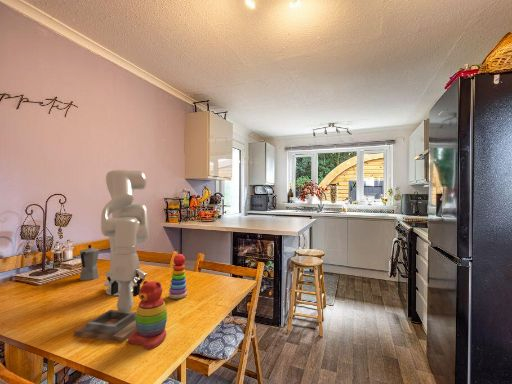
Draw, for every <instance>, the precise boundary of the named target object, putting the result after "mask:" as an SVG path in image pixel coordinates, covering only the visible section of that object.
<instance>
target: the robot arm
mask: <svg viewBox="0 0 512 384" xmlns="http://www.w3.org/2000/svg"><path fill="white" fill-rule="evenodd" d="M105 184H106V188H107V191H108V193H109V195H110V197H111V200H109V201H108V202H107V203H106V204H105V206H104V207H103V209H102V211H101V215H100V231H101V234H102V235H103V236H104V237H108V241H109V249H110V255H109V256H110V259H109V261H110V263H109V264H110V266H109V267H110V268H109V270H108V271H106V272H105V273H104V274H105V277H106V281H104V284H103V286H104V287H107V289H106V291H105V293H106V295H108V296H119V293H120V289H121V284H120V283H119V281H128V282H129V281H131V283H130V287H131V292H132V298H133V297H134V298H135V297H137V296H139V291H140V289H141V284H143V282H144V281H145V278H146V276H147V273H146V272H144V271H143V270H141V269H140V259H139V255H138V253H137V244H140V243H145V242H146V243H147V241H149V238H150V225H149V224H150V223H149V213H148V208H147V207H146V205H145V204H141V203H134V200H135V195H134V194H135V193H134V190H139V191H140V190H145V188H146V187H147V176H146V174H145V173H144V172H143V171H140V170H139V171H138V170H123V169H122V170H121V169H114V170H110V171H108V172H106V176H105ZM110 215H111V217H110Z"/></svg>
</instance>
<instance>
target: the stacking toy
mask: <svg viewBox="0 0 512 384" xmlns="http://www.w3.org/2000/svg"><path fill="white" fill-rule="evenodd" d="M172 261H173V263H174V265H173V267H172V268H173V269H172V272H171V273H172V275H171V280H170V285H169V286H170V287H169V289H168V297H169V298H170V299H173V300H178V299H179V300H181V299H183V298H186V297H187V296H188V291H187V282H186V281H187V279H186V274H185V273H186V270H185V268H186V265H185V262H186V258H185V256H184V254H181V253H178V254H175V255H174V257H173V260H172Z"/></svg>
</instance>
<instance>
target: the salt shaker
mask: <svg viewBox="0 0 512 384" xmlns="http://www.w3.org/2000/svg"><path fill="white" fill-rule="evenodd" d="M119 283H120V284H121V289H120V293H119V295H118V298H117V303H116V307H117V311H127V312H131V311H132V308H133V306H134V300H133V292H131V287H130V283H131V281H129V282H128V281H119Z"/></svg>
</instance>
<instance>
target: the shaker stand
mask: <svg viewBox="0 0 512 384" xmlns="http://www.w3.org/2000/svg"><path fill="white" fill-rule="evenodd" d="M136 313H137V311H136V312H134V311H128V312H127V311H119V310H118V309H117V310H115V309H109V310H107V311H106V312H104V313H102V314H100V315H98V316H97V317H95V318H93V319H92V320H90V321H87V322H86V323H85V324H84V325H82V326H80V327H79V328H77V329H75V330H74V331H73V336H74V337H79V338H80V337H81V338H87V339H88V338H89V339H96V340H103V341H104V340H105V341H108V342H109V341H110V342H117V343H118V342H119V343H125V342H126V341H128V338H129V336H130V335H131V334H133V333H134V332H136V331H137V327H136V320H135V319H136Z"/></svg>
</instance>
